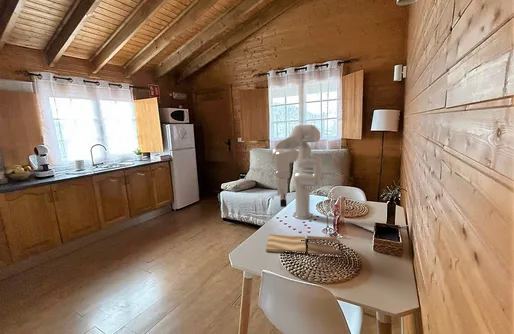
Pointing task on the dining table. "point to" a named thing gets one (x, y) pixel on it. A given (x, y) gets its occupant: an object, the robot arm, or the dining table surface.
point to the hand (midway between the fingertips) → (283, 206)
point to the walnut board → (322, 246)
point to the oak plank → (286, 243)
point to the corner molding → (366, 224)
